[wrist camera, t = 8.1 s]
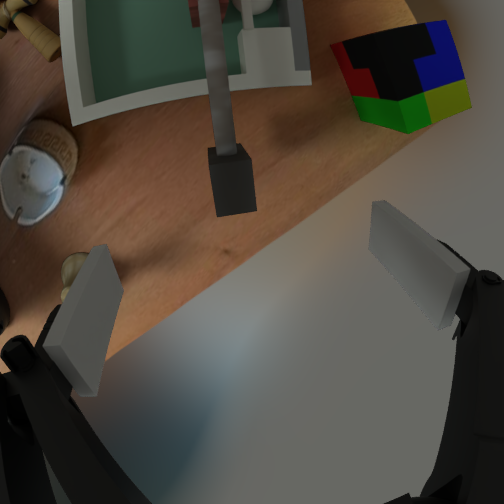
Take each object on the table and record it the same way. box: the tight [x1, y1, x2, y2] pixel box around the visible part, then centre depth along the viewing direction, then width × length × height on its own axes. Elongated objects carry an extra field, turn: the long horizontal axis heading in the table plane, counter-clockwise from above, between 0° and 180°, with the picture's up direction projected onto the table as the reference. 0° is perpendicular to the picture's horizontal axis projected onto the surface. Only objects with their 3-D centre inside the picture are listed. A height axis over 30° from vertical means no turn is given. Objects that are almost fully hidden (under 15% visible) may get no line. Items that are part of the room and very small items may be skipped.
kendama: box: [0, 0, 62, 62], centre depth 18 cm, size 8×6×18 cm
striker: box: [188, 0, 257, 217], centre depth 19 cm, size 3×30×11 cm, turn 6°
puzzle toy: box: [330, 20, 472, 134], centre depth 26 cm, size 10×10×10 cm
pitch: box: [59, 0, 312, 127], centre depth 21 cm, size 23×20×7 cm
